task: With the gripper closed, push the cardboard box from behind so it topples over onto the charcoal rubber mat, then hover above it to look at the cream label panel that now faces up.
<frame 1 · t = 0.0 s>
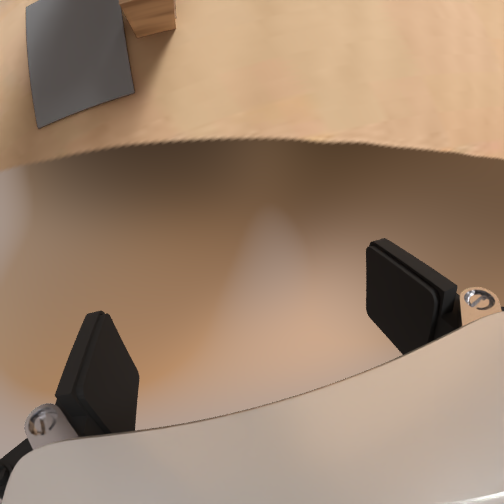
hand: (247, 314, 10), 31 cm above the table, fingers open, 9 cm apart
charcoal mat: (73, 43, 28), on the table
cardboard box: (153, 17, 29), on the table
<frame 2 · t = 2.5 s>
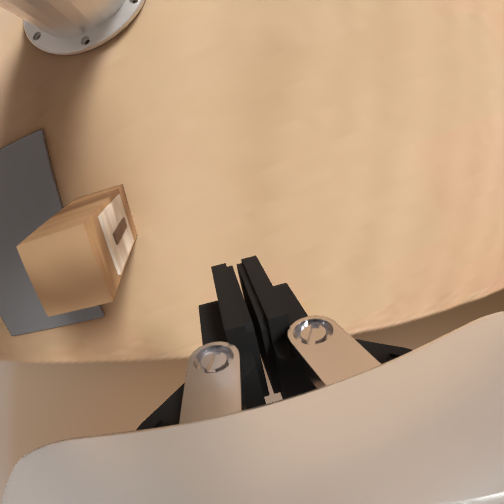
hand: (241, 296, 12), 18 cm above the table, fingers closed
charcoal mat: (17, 246, 25), on the table
cardboard box: (105, 217, 27), on the table
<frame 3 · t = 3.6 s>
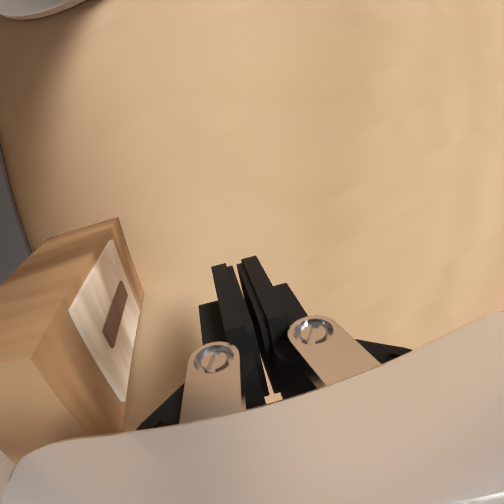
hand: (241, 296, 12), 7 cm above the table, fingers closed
cardboard box: (94, 266, 17), on the table
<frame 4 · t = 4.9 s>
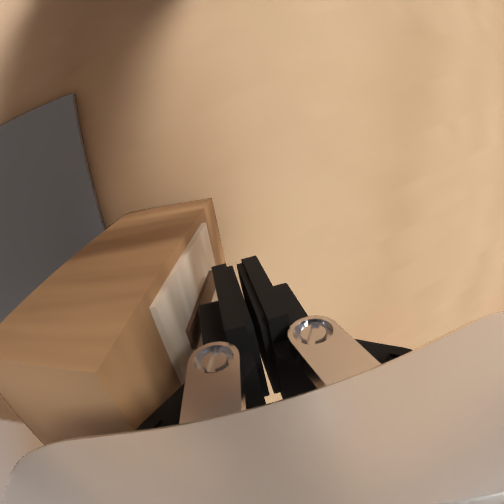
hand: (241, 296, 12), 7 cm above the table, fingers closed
charcoal mat: (26, 283, 16), on the table
cardboard box: (177, 248, 17), point 1 cm above the table, tilted 16°
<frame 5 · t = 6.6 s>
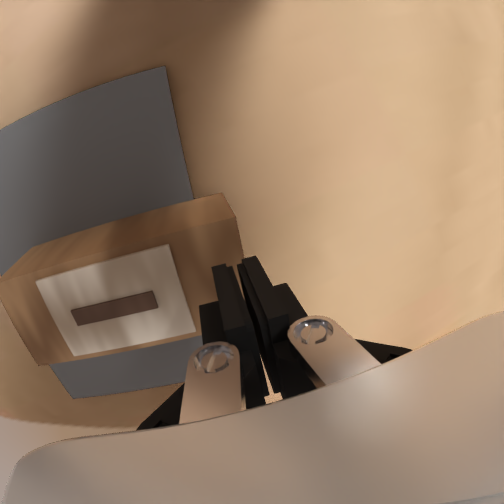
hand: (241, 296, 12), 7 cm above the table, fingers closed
charcoal mat: (93, 268, 17), on the table
cardboard box: (238, 251, 15), point 3 cm above the table, tilted 90°, touching charcoal mat
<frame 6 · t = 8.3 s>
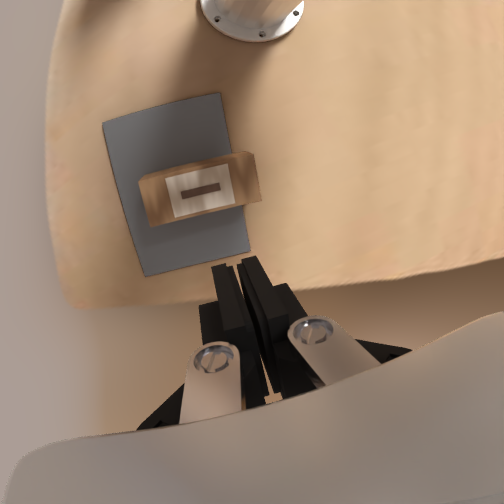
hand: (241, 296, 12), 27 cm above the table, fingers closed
charcoal mat: (177, 187, 36), on the table
cardboard box: (252, 174, 34), point 3 cm above the table, tilted 90°, touching charcoal mat
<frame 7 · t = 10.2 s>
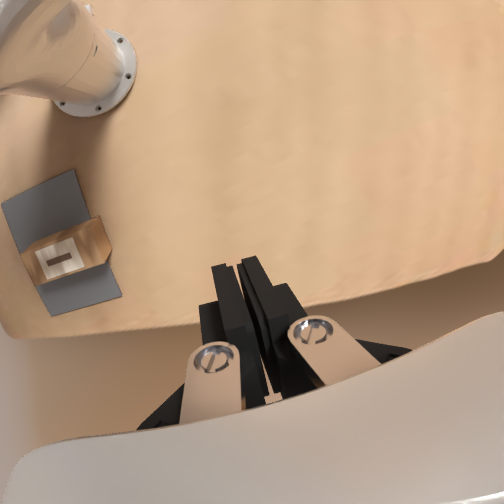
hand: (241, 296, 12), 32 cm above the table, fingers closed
charcoal mat: (58, 249, 40), on the table
cardboard box: (101, 238, 38), point 3 cm above the table, tilted 90°, touching charcoal mat
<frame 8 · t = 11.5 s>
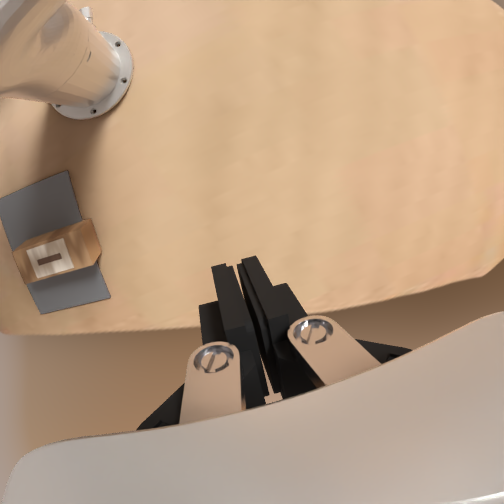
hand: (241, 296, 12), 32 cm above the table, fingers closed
charcoal mat: (49, 248, 40), on the table
cardboard box: (91, 240, 38), point 3 cm above the table, tilted 90°, touching charcoal mat
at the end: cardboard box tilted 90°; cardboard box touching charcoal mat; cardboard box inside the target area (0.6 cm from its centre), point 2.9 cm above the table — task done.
